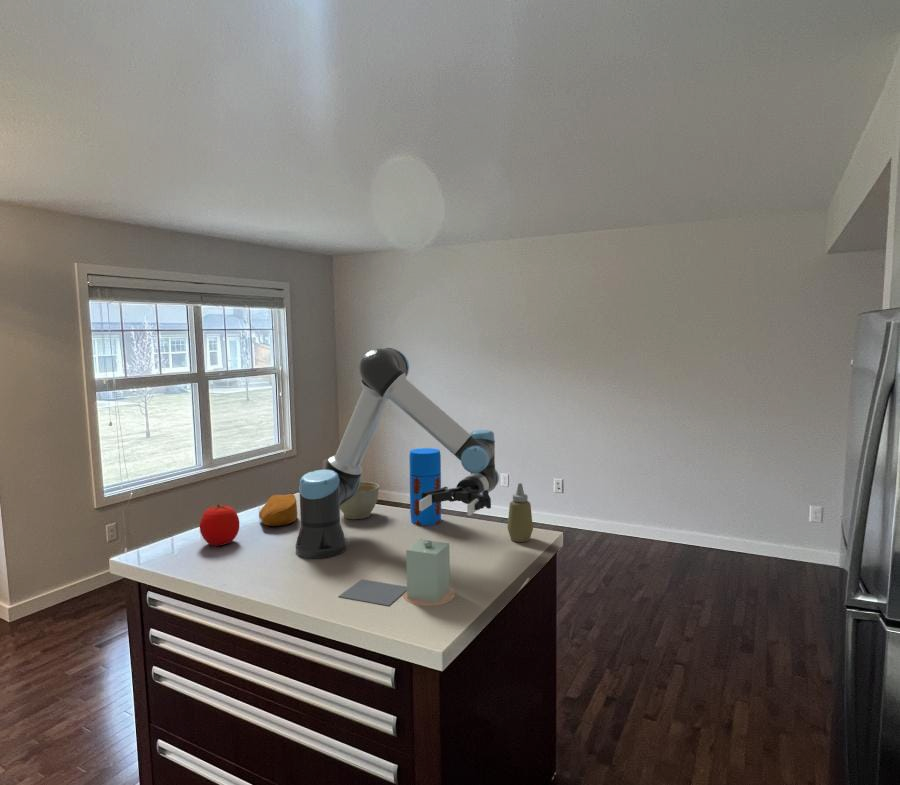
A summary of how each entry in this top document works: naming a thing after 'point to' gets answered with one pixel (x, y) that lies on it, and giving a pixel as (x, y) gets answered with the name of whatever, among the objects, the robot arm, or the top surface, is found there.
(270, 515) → the bread
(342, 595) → the mat
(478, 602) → the top surface
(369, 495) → the planter bowl
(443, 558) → the cover
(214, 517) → the red apple
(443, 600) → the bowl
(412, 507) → the thermos
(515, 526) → the squeeze bottle
